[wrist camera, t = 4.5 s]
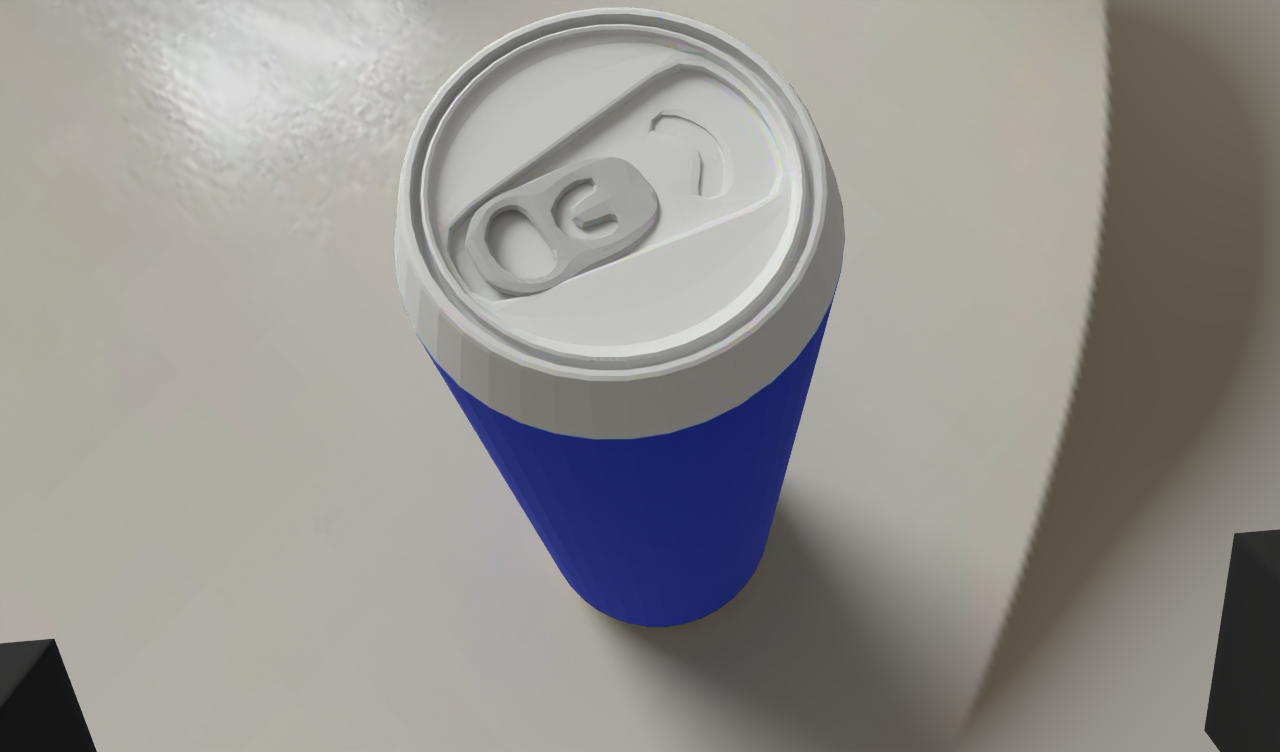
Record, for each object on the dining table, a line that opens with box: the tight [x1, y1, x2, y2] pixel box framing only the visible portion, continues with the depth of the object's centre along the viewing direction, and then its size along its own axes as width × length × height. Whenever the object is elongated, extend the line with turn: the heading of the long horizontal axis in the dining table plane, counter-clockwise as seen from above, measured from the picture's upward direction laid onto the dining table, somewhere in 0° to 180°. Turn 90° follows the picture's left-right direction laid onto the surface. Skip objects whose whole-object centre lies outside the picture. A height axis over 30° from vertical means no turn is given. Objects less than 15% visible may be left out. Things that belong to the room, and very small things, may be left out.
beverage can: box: [394, 7, 845, 627], centre depth 18 cm, size 5×5×15 cm
